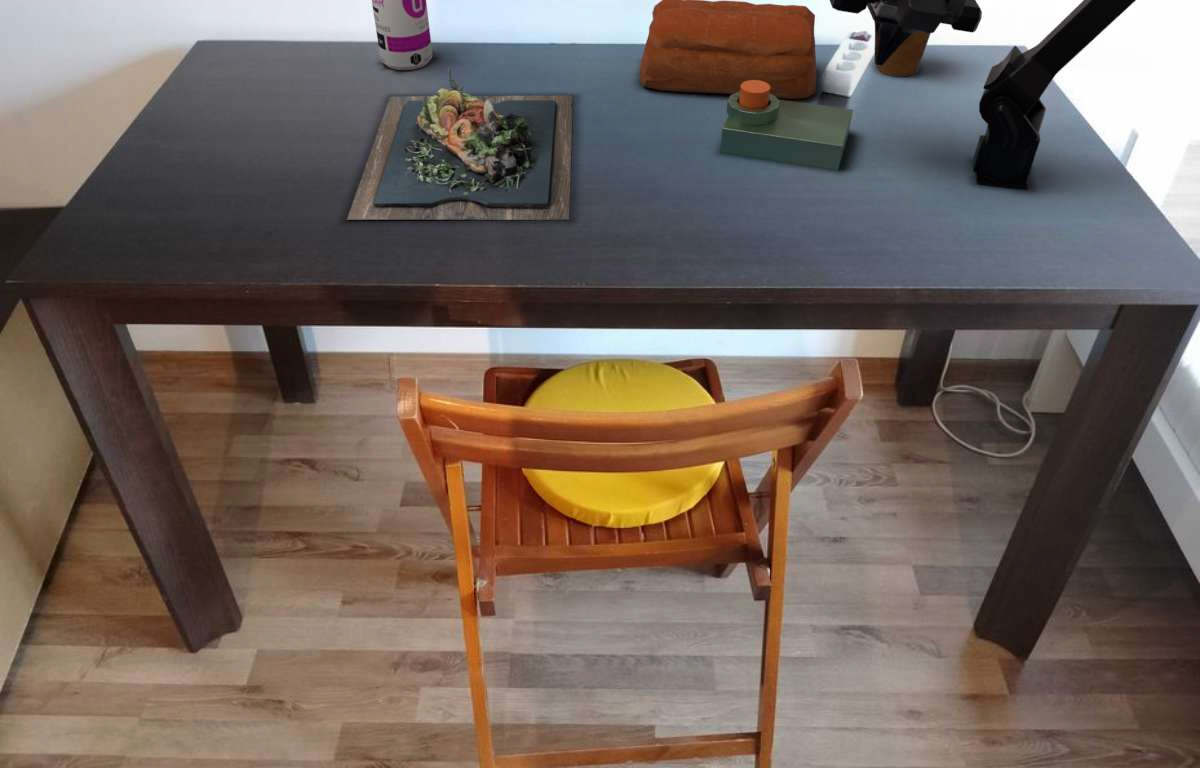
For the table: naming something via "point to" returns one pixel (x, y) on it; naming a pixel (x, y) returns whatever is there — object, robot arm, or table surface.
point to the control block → (787, 132)
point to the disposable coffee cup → (906, 56)
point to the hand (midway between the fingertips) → (878, 63)
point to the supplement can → (403, 33)
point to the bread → (730, 47)
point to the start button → (754, 94)
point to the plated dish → (469, 159)
